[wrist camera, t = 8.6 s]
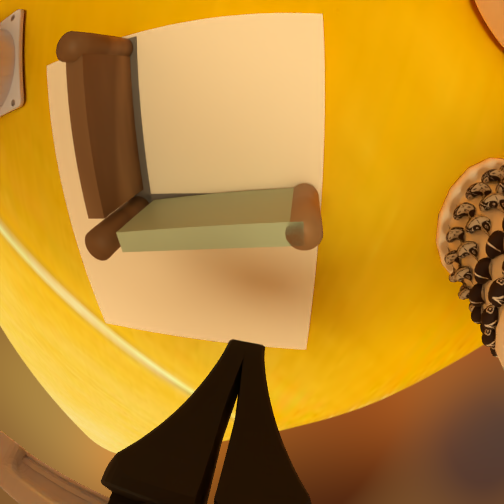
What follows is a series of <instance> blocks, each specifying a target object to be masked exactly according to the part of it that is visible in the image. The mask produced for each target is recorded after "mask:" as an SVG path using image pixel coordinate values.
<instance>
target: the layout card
mask: <svg viewBox="0 0 504 504" xmlns="http://www.w3.org/2000/svg"><path fill="white" fill-rule="evenodd" d="M121 38H127V39H129V40H130V41H131V42H132V44H133V52H132V54H131V56H130V64H131V82H132V96H133V108H134V119H135V129H136V138H137V146H138V154H139V162H140V169H141V176H142V182H143V190H142V191H141V192H139V193H138V194H136V195H135V196H140V197H143V198H144V199H147V201H148V202H149V204H150V203H151V202H152V201H153V200H157V199H165V198H174V197H184V196H193V195H204V194H214V193H226V192H238V191H252V190H266V189H283V188H294V187H295V186H297V185H299V184H310V185H312V186H313V187H314V188H315V189H316V190H317V192H318V194H319V202H320V210H321V197H322V179H323V157H324V121H325V64H324V31H323V14H312V13H263V14H246V15H234V16H224V17H216V18H208V19H201V20H195V21H189V22H183V23H178V24H173V25H168V26H163V27H159V28H155V29H150V30H146V31H142V32H139V33H135V34H131V35H128V36H124V37H121ZM47 82H48V96H49V107H50V116H51V124H52V132H53V139H54V145H55V151H56V157H57V163H58V168H59V173H60V178H61V183H62V187H63V192H64V196H65V200H66V205H67V209H68V212H69V216H70V220H71V224H72V227H73V231H74V234H75V238H76V241H77V245H78V248H79V251H80V254H81V257H82V260H83V263H84V266H85V269H86V272H87V275H88V278H89V281H90V284H91V286H92V289H93V292H94V294H95V297H96V300H97V302H98V305H99V307H100V310H101V312H102V315H103V317H104V320H105V322H106V323H109V324H114V325H119V326H124V327H129V328H134V329H139V330H145V331H150V332H156V333H162V334H168V335H174V336H181V337H187V338H194V339H202V340H209V341H217V342H225V343H229V341H230V340H232V339H235V340H240V341H245V342H250V343H256V344H261V345H263V346H264V347H276V348H289V349H305V350H306V347H307V340H308V333H309V325H310V317H311V309H312V300H313V291H314V282H315V272H316V262H317V251H318V246H316V247H315V248H313V249H311V250H298V249H295V248H293V247H292V246H285V247H255V248H226V249H198V250H170V251H143V252H122V249H121V247H120V248H119V249H118V250H117V251H116V252H115V253H114V254H113V255H112V256H111V257H110V258H109V259H107V260H105V261H101V260H98V259H96V258H94V257H93V256H92V255H91V254H90V253H89V251H88V250H87V248H86V245H85V236H86V234H87V233H88V232H89V231H90V230H91V229H93V228H94V227H95V226H96V225H97V224H99V223H100V222H101V221H102V220H104V219H88V215H87V210H86V206H85V202H84V197H83V193H82V188H81V183H80V178H79V173H78V168H77V162H76V157H75V150H74V144H73V137H72V130H71V122H70V113H69V104H68V92H67V78H66V62H61V61H60V60H59V61H57V62H54V63H52V64H50V65H48V66H47ZM135 196H134V197H135ZM132 198H133V197H132ZM116 210H117V209H116ZM112 213H113V212H112ZM107 217H108V216H107Z"/></svg>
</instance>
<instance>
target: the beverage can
mask: <svg viewBox="0 0 504 504" xmlns="http://www.w3.org/2000/svg"><path fill="white" fill-rule="evenodd" d="M474 1H475V3H476V5H477V7H478V10H479V12H480V14H481V15H482V17H483V19H484V21H485V23H486V24H487V26H488V27H489V29H490V31H491V32H492V33H493V35H494V36H495V38H496V39H497V40H498V42H499V43H500V44H501V45H502V47H503V48H504V0H474Z"/></svg>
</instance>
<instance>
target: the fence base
mask: <svg viewBox="0 0 504 504" xmlns="http://www.w3.org/2000/svg"><path fill="white" fill-rule="evenodd" d="M132 52H133V44H132V42H131V41H130V40H129V39H127V38H121V37H115V36H108V35H101V34H94V33H85V32H75V31H70V32H67V33H66V34H64V35H63V36H62V37H61V39H60V40H59V42H58V45H57V49H56V54H57V57H58V59H59V60H60V61H61V62H66V78H67V92H68V104H69V113H70V122H71V130H72V137H73V144H74V150H75V157H76V162H77V168H78V173H79V178H80V183H81V188H82V193H83V197H84V202H85V206H86V210H87V215H88V219H104V220H102V221H101V222H100V223H99V224H97V225H96V226H95V227H94V228H93V229H91V230H90V231H89V232H88V233H87V234H86V236H85V245H86V248H87V250H88V251H89V253H90V254H91V255H92V256H93V257H94V258H96V259H98V260H101V261H105V260H107V259H109V258H110V257H111V256H112V255H113V254H114V253H115V252H116V251H117V250H118V249H119V248H120V247H121V246H120V243H119V240H118V237H117V234H116V232H117V231H118V230H120V229H121V228H122V227H123V226H124V225H125V224H126V223H127V222H129V221H130V220H131V219H132V218H133V217H134V216H136V215H137V214H138V213H139V212H140V211H141V210H143V209H144V208H145V207H146V206H147V205H148V204H149V202H148V201H147V199H144V198H143V197H140V196H135V195H136V194H138V193H139V192H141V191H142V190H143V182H142V176H141V169H140V162H139V154H138V146H137V138H136V129H135V119H134V108H133V96H132V82H131V64H130V56H131V54H132ZM134 196H135V197H134ZM132 197H133V198H132ZM116 209H117V210H116ZM112 212H113V213H112ZM107 216H108V217H107Z"/></svg>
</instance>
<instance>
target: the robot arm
mask: <svg viewBox="0 0 504 504" xmlns="http://www.w3.org/2000/svg"><path fill="white" fill-rule="evenodd" d="M23 20H24V10H23V9H18V10H17V11H15V12H14V13H13V14H11V15H10V16H9V17H7V18H6V19H5V20H3V21H2V22H1V23H0V117H1V116H3V115H5V114H7V113H9V112H11V111H13V110H15V109H17V108H19V107H21V106H22V105H23V103H24V90H23V69H22V40H23ZM264 352H265V347H264V346H263V345H261V344H256V343H250V342H245V341H240V340H235V339H232V340H230V341H229V343H228V345H227V347H226V349H225V351H224V352H223V354H222V356H221V357H220V359H219V360H218V362H217V364H216V365H215V366H214V368H213V369H212V371H211V372H210V373H209V375H208V376H207V377H206V379H205V380H204V381H203V382H202V384H201V385H200V386H199V387H198V388H197V389H196V391H195V392H194V393H193V394H192V395H191V396H190V397H189V398H188V399H187V401H186V402H185V403H184V404H183V405H182V406H181V407H179V408H178V409H177V410H176V411H175V412H174V413H173V414H172V415H171V416H170V417H169V418H167V419H166V420H165V421H164V422H163V423H161V424H160V425H159V426H158V427H156V428H155V429H154V430H152V431H151V432H150V433H148V434H147V435H145V436H144V437H143V438H141V439H140V440H138V441H137V442H135V443H133V444H132V445H130V446H128V447H127V448H125V449H123V450H122V451H120V452H118V453H117V454H116V455H115V456H114V458H113V459H112V460H111V462H110V463H109V464H108V466H107V468H106V470H105V472H104V475H103V477H102V480H101V483H102V484H103V485H104V486H105V487H107V488H108V489H109V490H111V491H112V494H111V496H110V498H108V497H106V496H104V495H101V494H100V493H98V492H95V491H93V490H91V489H89V488H87V487H85V486H83V485H81V484H80V483H78V482H76V481H74V480H72V479H70V478H68V477H66V476H65V475H63V474H61V473H59V472H58V471H56V470H55V469H53V468H51V467H50V466H48V465H46V464H45V463H43V462H42V461H40V460H39V459H37V458H36V457H34V456H32V455H31V454H30V453H28V452H27V451H26V450H25V449H24V448H23V447H21V446H20V445H19V444H18V443H16V442H15V441H14V440H12V439H11V438H10V437H9V436H7V435H6V434H4V433H3V432H2V431H1V430H0V487H1V488H2V489H3V490H4V491H5V492H6V493H7V494H9V495H10V496H11V497H12V498H13V499H14V500H16V501H17V502H18V503H19V504H207V501H208V497H209V492H210V489H211V484H212V480H213V476H214V472H215V468H216V463H217V459H218V455H219V451H220V447H221V443H222V440H223V436H224V433H225V430H226V428H227V425H228V422H229V419H230V416H231V413H232V410H233V407H234V404H235V401H236V398H237V395H238V399H237V407H236V415H235V421H234V425H233V429H232V433H231V437H230V441H229V445H228V449H227V453H226V457H225V461H224V465H223V469H222V472H221V476H220V480H219V483H218V488H217V491H216V494H215V498H214V504H311V500H310V496H309V494H308V493H307V491H306V489H305V488H304V486H303V484H302V482H301V481H300V479H299V477H298V475H297V473H296V471H295V469H294V467H293V465H292V463H291V461H290V459H289V456H288V454H287V451H286V449H285V447H284V444H283V442H282V439H281V436H280V434H279V431H278V427H277V424H276V421H275V418H274V414H273V410H272V406H271V402H270V398H269V393H268V387H267V381H266V374H265V362H264Z"/></svg>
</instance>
